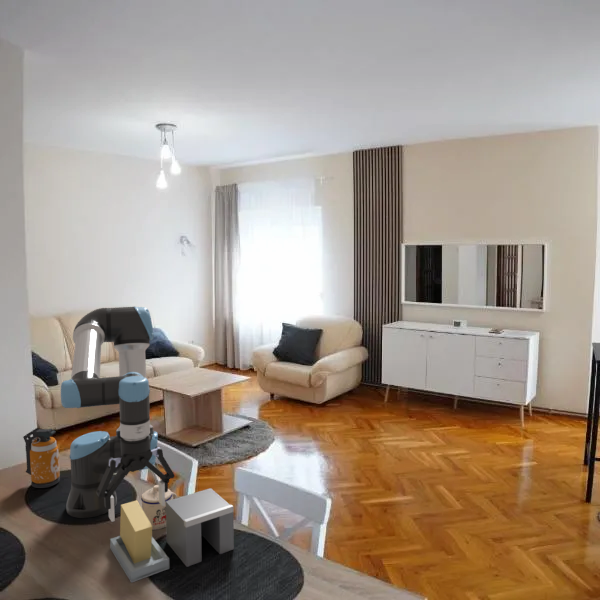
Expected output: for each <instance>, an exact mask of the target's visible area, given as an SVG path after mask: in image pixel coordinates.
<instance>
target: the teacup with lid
mask: <svg viewBox="0 0 600 600" xmlns="http://www.w3.org/2000/svg"><path fill="white" fill-rule="evenodd" d="M172 497H173V499H176V498H178V495H177V494H176V493H175V492H172V490H170V489H169V488H168V491H167V492H166V493H165V506H162V505H161V504H160V503H159V486H158V484H156V485H153V486H152V488H149V489H147V490H145V491H143V493H142V494H141V497H140V501H141V508H142V509H143V511H144V513H145V515H146V516H147V518H148V520H149V521H150V523H151V525H152V531H153V530H154V531H155V530H156V531H157V530H161V529H165V528H166V501H169V500H172Z"/></svg>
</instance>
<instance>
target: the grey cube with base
mask: <svg viewBox="0 0 600 600" xmlns="http://www.w3.org/2000/svg"><path fill="white" fill-rule="evenodd" d="M234 516H235V515H234V505H232V504H230V503H228V502H227V500H225V499H224V498H223V497H222V496H221V495H219V494H218V493H217V492H216V491H215V490H213V488H211V487H210V488H207V489H203V490H200V491H197V492H193V493H189V494H186V495H183V496H180V497H177V498H176V499H172V498H171V500H169V501H166V527H165V529H166V530H165V531H166V532H165V533H166V535H165V536H166V543H167V545H168V546H169V547H170V548H171V549H172V551H174V553H175V554H176V556H177V557H178V558H179V559H180V560H181V562H182V563H183V564H184V565H185V567H191V566H192V565H195V564H199V563H201V562H202V558H203V557H202V555H203V554H202V537H203V538H204V539H205V540H206V541H207V543H209V545H211V546H212V548H213V549H214V550H215V551H216V552H217V553H218V554H219V555H222V554H225V553H227V552H229V551H232V550H234V549H235V548H234V547H235V546H234V545H235V544H234V543H235V542H234V541H235V540H234V538H235V537H234V536H235V535H234V530H235V529H234V528H235V527H234V525H235V524H234V520H235V519H234V518H235V517H234Z"/></svg>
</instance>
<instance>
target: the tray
mask: <svg viewBox="0 0 600 600" xmlns="http://www.w3.org/2000/svg"><path fill="white" fill-rule="evenodd" d="M109 545H110V546H109V547H110V550H111V552H112V553H113V555H114V557H115V558H116V560H117V561H118V563H119V565H120V567H121V569H122V570H123V571H124V573H125V575H126V576H127V578H128V579H129V581H130V583H134V582H137V581H139V580H142V579H146V578H147V577H150V576H153V575H156V574H159V573H161V572H163V571H166V570H169V569H170V557H169V556H168V555H167V554H166V552H165V551H164V550H163V549H162V547H161V546H160V545H159V543H158V542H157V541H156V540H155V538H154V537H153V536H152V542H151V558H149V559H146V560H143V561H140V562H137V563H135V564H134V563H133V561H132V559H131V556H130V554H129V552H128V550H127V548H126V546H125V544H124V542H123V540H122V538H121V536H120V535H118V536H115V537H111V538H109Z"/></svg>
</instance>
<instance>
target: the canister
mask: <svg viewBox="0 0 600 600" xmlns="http://www.w3.org/2000/svg"><path fill="white" fill-rule="evenodd" d="M54 434H56V430H53V428H39V427H36V428H35V429H32V430H31V431H30V432H28V433H26V434H25V435H24V436H22V438H23V440H24V442H25V456H26V457H25V458H26V470H25V472H26V473H27V474H28V475H29V476H30V480H31V481H30V482H31V487H33V488H37V489H46V488H50V487H54V485H57V484H58V483H59V482H60V480H61V476H60V475H61V473H60V472H61V471H60V457H59V456H60V452H59V446H58V445H57V440H56V438H55V437H53V435H54Z"/></svg>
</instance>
